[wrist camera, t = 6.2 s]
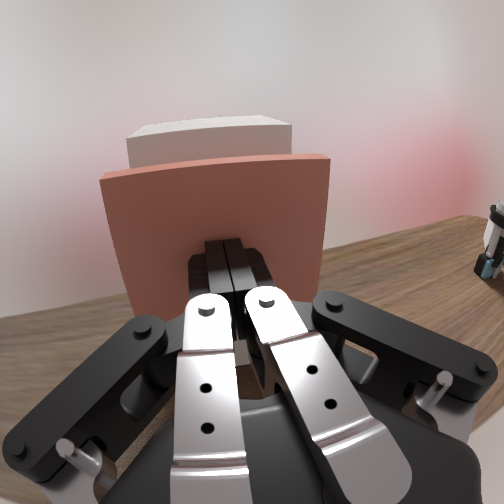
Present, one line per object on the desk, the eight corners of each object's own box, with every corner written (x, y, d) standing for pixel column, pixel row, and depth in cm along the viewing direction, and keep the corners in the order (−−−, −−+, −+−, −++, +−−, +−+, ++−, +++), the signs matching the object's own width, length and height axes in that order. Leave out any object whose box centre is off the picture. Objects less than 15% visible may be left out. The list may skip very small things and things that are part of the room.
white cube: (509, 248, 36) (519, 217, 33) (513, 263, 32) (526, 229, 29) (482, 237, 39) (492, 206, 36) (485, 252, 35) (496, 217, 32)
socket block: (280, 358, 22) (291, 124, 13) (178, 373, 21) (125, 138, 12) (260, 303, 28) (259, 115, 19) (177, 314, 27) (146, 124, 18)
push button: (489, 259, 33) (508, 198, 28) (511, 279, 29) (534, 214, 24) (465, 265, 32) (485, 197, 27) (489, 287, 28) (515, 216, 23)
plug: (314, 311, 15) (330, 158, 11) (142, 335, 14) (99, 179, 10) (276, 244, 22) (278, 133, 17) (152, 258, 20) (133, 145, 16)
